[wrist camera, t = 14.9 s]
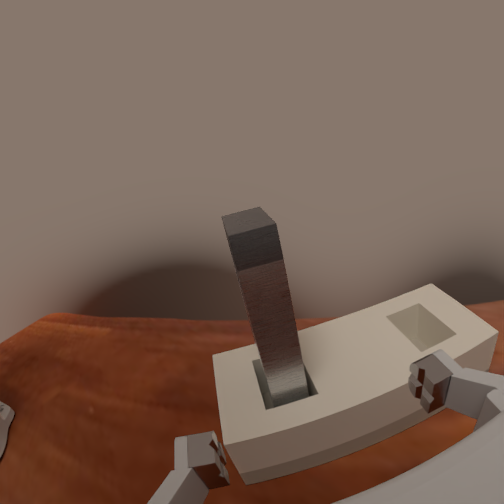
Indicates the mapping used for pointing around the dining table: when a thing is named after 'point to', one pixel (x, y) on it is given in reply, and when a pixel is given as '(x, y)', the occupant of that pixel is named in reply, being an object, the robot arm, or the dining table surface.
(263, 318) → the tall square peg
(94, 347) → the dining table surface
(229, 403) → the joystick lever base
